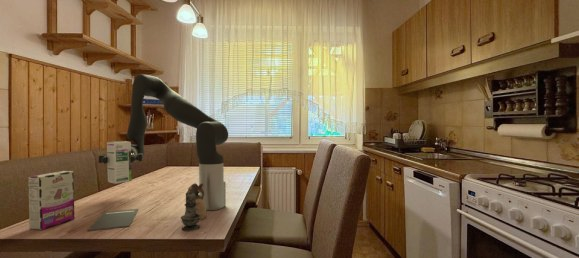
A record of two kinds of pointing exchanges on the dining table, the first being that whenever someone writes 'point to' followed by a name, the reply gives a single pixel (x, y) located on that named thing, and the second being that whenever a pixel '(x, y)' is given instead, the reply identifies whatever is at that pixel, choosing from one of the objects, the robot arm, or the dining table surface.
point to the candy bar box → (50, 199)
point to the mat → (114, 219)
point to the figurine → (199, 200)
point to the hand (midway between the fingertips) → (118, 160)
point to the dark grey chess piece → (190, 213)
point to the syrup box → (119, 161)
